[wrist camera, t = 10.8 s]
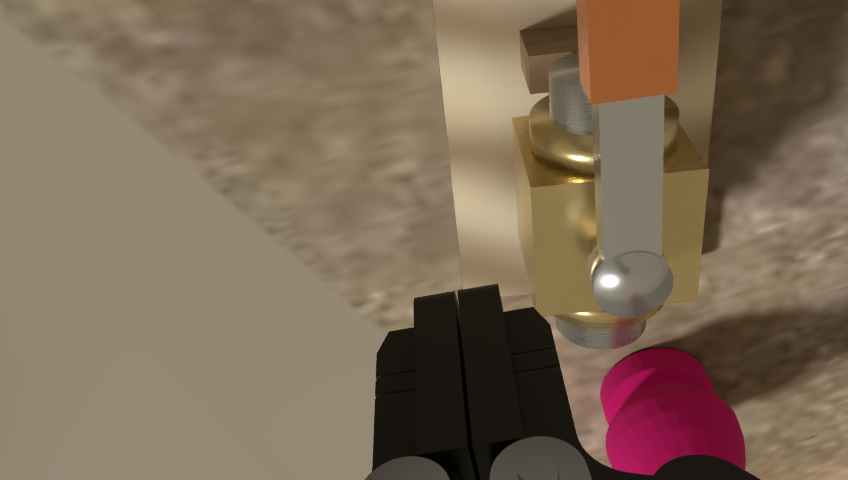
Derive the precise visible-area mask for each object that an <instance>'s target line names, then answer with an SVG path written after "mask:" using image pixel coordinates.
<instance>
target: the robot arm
mask: <svg viewBox="0 0 848 480" xmlns="http://www.w3.org/2000/svg"><path fill="white" fill-rule="evenodd" d="M458 301H459V306H458ZM458 301H457V297H456V294H455V291H452V292H446V293H441V294H435V295H429V296H423V297H417V298H414V327H413V328H407V329H402V330H396V331H390V332H389V333H388V335H387V336H386V338H385V340H384V342H383V344H382V345H381V347H380V349H379V351H378V352H377V362H376V379H377V381H376V389H375V396H376V399H375V416H374V444H373V445H374V446H373V467H372V472H371V473H370V474H369V475H368V477H367V478H366V479H365V480H760V479H759V478H757V477H755V476H753V475H752V474H750V473H748V472H747V471H745V470H743V469H741V468H740V467H738V466H736V465H735V464H733V463H731V462H729V461H727V460H724V459H721V458H718V457H715V456H710V455H700V454H695V455H686V456H681V457H678V458H675V459H672V460H670V461H669V462H667V463H665V464H664V465H662V466H661V467H660V468H659V469H658V470H657V471H656V472H655V474H654V475H645V474H637V473H630V472H624V471H619V470H616V469H612V468H609V467H607V466H605V465H603V464H601V463H599V462H598V461H596V460H595V459H593V458H592V457H591V456H590V455H589V454H588V453H587V452H586V451H585V450H584V449H583V447H582V446H581V444H580V442H579V440H578V437H577V434H576V430H575V426H574V422H573V418H572V414H571V409H570V405H569V401H568V397H567V393H566V389H565V385H564V380H563V376H562V372H561V369H560V364H559V360H558V356H557V351H556V348H555V343H554V339H553V335H552V331H551V327H550V324H549V323H548V322H547V321H546V320H545V319H544V318H543V317H542V316H541V315H540V314H539V313H538V311H537V310H536V309H535V308H534V307H530V308H524V309H519V310H513V311H507V312H503V307H502V301H501V296H500V291H499V285H498V283H497V284H492V285H486V286H480V287H474V288H468V289H463V290H458Z"/></svg>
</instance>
